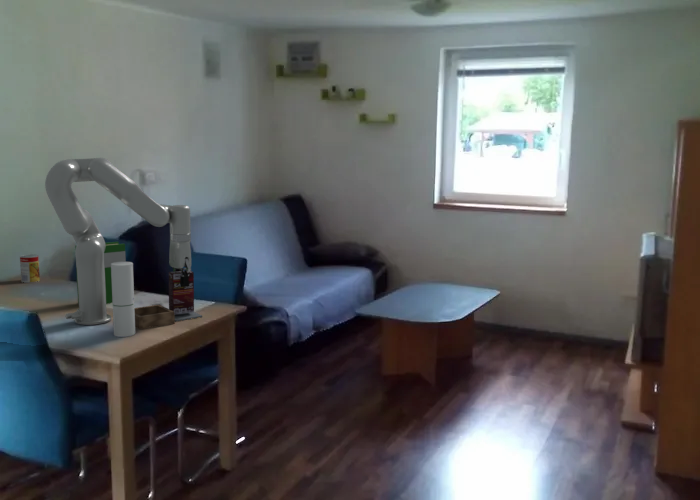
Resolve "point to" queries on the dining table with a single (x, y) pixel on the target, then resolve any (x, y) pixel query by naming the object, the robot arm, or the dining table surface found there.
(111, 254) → the hardback book
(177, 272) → the supplement box
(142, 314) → the pocket frame
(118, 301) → the cylindrical container
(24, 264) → the canned food
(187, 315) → the mat
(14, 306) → the dining table surface
